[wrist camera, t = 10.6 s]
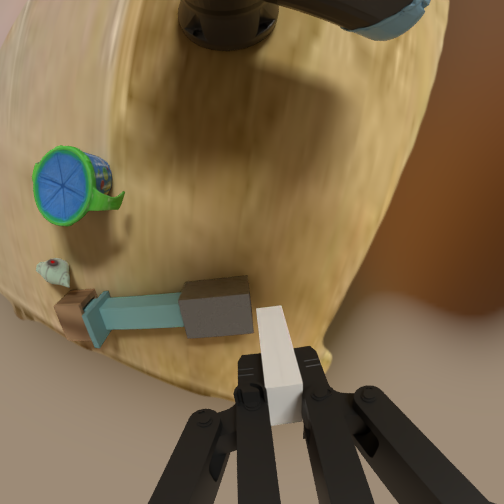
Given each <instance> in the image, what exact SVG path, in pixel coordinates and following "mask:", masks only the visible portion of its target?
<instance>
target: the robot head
mask: <svg viewBox="0 0 504 504" xmlns="http://www.w3.org/2000/svg"><path fill="white" fill-rule="evenodd" d="M36 271H37V272H38V273H39V274H40V275H41V276H42V277H43V278H44V279H45V280H46V281H47V282H49V283H51V284H57V285H63V286H66V287H69V288H70V275H69V265H68V263H67V262H66V261H64V260H62V259H60V258H53V259H50V260H48V261H45V262H40V263H39V264H38V265H37V268H36Z"/></svg>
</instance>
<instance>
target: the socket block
mask: <svg viewBox="0 0 504 504" xmlns="http://www.w3.org/2000/svg"><path fill="white" fill-rule="evenodd" d="M97 298H98V297H97V294H96V291H95V289H85V290H71V291H69V292H68V293H67V294H66V295H65V296H64V297H63V298H62V299H61V300H60V301H59V302H58V303H56V304H55V305H54V309H55V311H56V314H57V316H58V319H59V321H60V324H61V326H62V328H63V331H64V333H65V335H66V338H67V340H72V341H92V340H91V338H90V335H89V333H88V331H87V328H86V326H85V323H84V321H83V318H82V315H83V314H84V311H83V308H84V306H85V305H86V304H87V303H88V302H89V301H90V300H91V299H97Z"/></svg>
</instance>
